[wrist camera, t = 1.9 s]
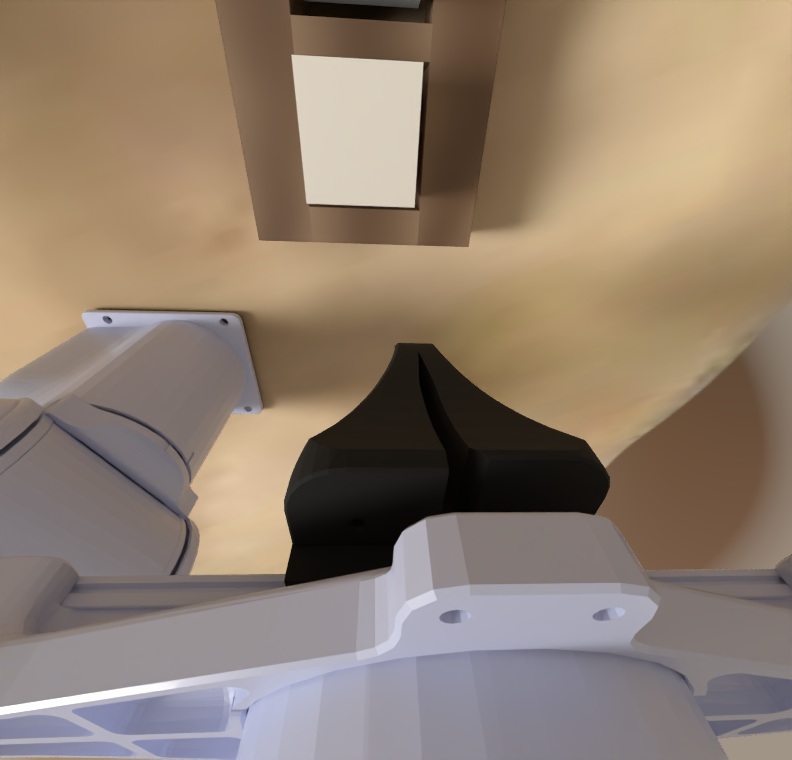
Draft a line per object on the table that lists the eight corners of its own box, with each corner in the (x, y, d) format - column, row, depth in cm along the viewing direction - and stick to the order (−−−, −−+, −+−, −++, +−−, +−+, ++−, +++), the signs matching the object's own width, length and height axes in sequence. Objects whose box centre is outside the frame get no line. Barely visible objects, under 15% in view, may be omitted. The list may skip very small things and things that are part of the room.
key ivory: (321, 193, 15) (306, 203, 12) (312, 75, 13) (291, 54, 10) (408, 196, 15) (414, 207, 13) (414, 81, 13) (423, 62, 10)
